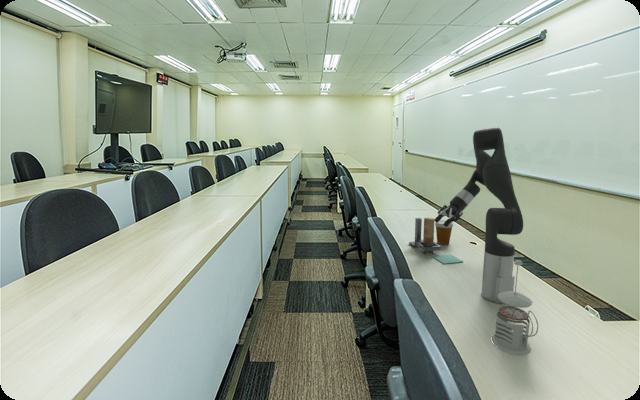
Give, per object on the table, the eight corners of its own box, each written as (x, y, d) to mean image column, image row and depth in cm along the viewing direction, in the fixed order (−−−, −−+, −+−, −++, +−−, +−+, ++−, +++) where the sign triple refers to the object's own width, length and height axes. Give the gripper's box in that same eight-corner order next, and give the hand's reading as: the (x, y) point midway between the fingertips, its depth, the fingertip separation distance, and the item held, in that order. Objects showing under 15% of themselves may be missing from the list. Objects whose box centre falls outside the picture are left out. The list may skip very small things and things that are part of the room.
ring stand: (440, 254, 156) (442, 225, 153) (424, 256, 154) (425, 226, 151) (422, 243, 174) (423, 216, 171) (407, 244, 172) (408, 217, 169)
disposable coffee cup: (453, 245, 168) (455, 224, 166) (435, 245, 170) (436, 224, 168) (450, 240, 177) (451, 220, 175) (432, 239, 179) (433, 219, 177)
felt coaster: (462, 262, 145) (463, 261, 145) (443, 264, 144) (443, 263, 144) (450, 254, 155) (450, 254, 155) (432, 256, 153) (432, 255, 153)
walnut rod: (434, 253, 157) (436, 219, 154) (425, 254, 156) (427, 220, 153) (429, 250, 162) (431, 217, 159) (421, 251, 161) (422, 217, 158)
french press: (509, 330, 93) (517, 251, 88) (546, 355, 82) (557, 267, 77) (482, 336, 90) (489, 256, 86) (517, 363, 79) (526, 272, 75)
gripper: (449, 193, 163) (428, 215, 163) (466, 197, 149) (443, 222, 150) (457, 202, 165) (437, 224, 165) (475, 208, 151) (452, 232, 152)
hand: (440, 223), depth 157 cm, fingers open, 8 cm apart
